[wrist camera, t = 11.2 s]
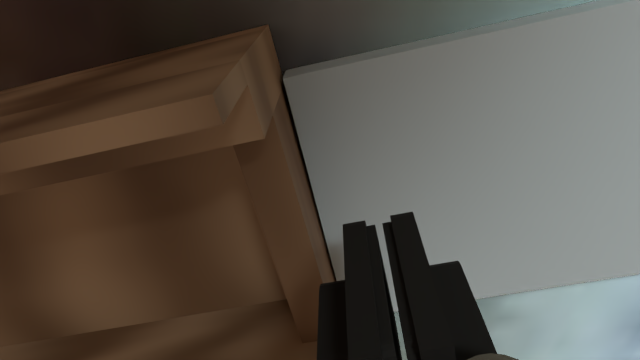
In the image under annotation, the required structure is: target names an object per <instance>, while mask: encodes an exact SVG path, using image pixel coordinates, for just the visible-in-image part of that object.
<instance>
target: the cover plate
mask: <svg viewBox="0 0 640 360" xmlns="http://www.w3.org/2000/svg"><path fill="white" fill-rule="evenodd" d="M283 81H284V85H285V89H286V92H287V96H288V100H289V104H290V107H291V111H292V115H293V119H294V122H295V126H296V130H297V134H298V137H299V141H300V145H301V149H302V153H303V156H304V160H305V164H306V168H307V171H308V175H309V179H310V183H311V186H312V190H313V194H314V198H315V201H316V205H317V209H318V213H319V216H320V220H321V224H322V228H323V231H324V235H325V239H326V243H327V246H328V250H329V254H330V258H331V262H332V265H333V269H334V273H335V277H336V280H337V281H341V280H345V272H344V248H343V224H347V223H353V222H358V221H364V220H365V222H366V225H367V226H370V225H375V227H376V231H377V236H378V240H379V245H380V250H381V255H382V259H383V264H384V269H385V273H386V278H387V283H388V287H389V292H390V297H391V301H392V306H393V311H394V312H396V311H398V306H397V301H396V295H395V290H394V284H393V279H392V274H391V268H390V263H389V257H388V252H387V247H386V241H385V236H384V230H383V225H382V223H386V222H391V219H390V216H391V215H396V214H401V213H407V212H413V214H414V217H415V220H416V223H417V227H418V230H419V233H420V236H421V240H422V243H423V246H424V249H425V253H426V256H427V259H428V262H429V265H435V264H441V263H446V262H452V261H459V262H460V264H461V266H462V269H463V271H464V274H465V276H466V279H467V281H468V283H469V286H470V288H471V291H472V293H473V296H474V298H475V299H481V298H487V297H494V296H500V295H507V294H513V293H520V292H526V291H533V290H539V289H546V288H552V287H559V286H565V285H572V284H578V283H585V282H592V281H598V280H605V279H611V278H618V277H624V276H631V275H637V274H640V0H597V1H593V2H588V3H584V4H579V5H575V6H571V7H566V8H562V9H557V10H553V11H548V12H544V13H539V14H535V15H530V16H526V17H521V18H517V19H512V20H508V21H503V22H499V23H494V24H490V25H486V26H481V27H477V28H472V29H468V30H463V31H459V32H454V33H450V34H445V35H441V36H436V37H432V38H427V39H423V40H418V41H414V42H409V43H405V44H401V45H396V46H392V47H387V48H383V49H378V50H374V51H369V52H365V53H360V54H356V55H351V56H347V57H342V58H338V59H333V60H329V61H324V62H320V63H316V64H311V65H307V66H302V67H298V68H293V69H289V70H286V71H285V74H284V77H283Z"/></svg>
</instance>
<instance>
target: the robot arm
mask: <svg viewBox="0 0 640 360" xmlns="http://www.w3.org/2000/svg"><path fill="white" fill-rule="evenodd" d="M390 219H391V222H386V223H382V225H383V230H384V236H385V241H386V247H387V252H388V257H389V263H390V268H391V274H392V279H393V284H394V290H395V295H396V301H397V306H398V312H399V317H400V322H401V328H402V333H403V339H404V344H405V349H406V354H407V359H408V360H518V359H515V358H512V357H510V356H507V355H502V354H497V352H496V350H495V347H494V345H493V342H492V340H491V337H490V335H489V332H488V330H487V328H486V325H485V323H484V320H483V318H482V315H481V313H480V310H479V308H478V305H477V303H476V301H475V298H474V296H473V293H472V291H471V288H470V286H469V283H468V281H467V279H466V276H465V274H464V271H463V269H462V266H461V264H460V262H459V261H452V262H446V263H441V264H435V265H429V262H428V259H427V256H426V253H425V249H424V246H423V243H422V240H421V236H420V233H419V230H418V227H417V223H416V220H415V217H414V214H413V212H407V213H401V214H396V215H391V216H390ZM343 248H344V272H345V280H341V281H335V282H329V283H323V284H320V286H319V306H318V335H317V360H402V356H401V350H400V345H399V339H398V333H397V327H396V321H395V316H394V311H393V306H392V301H391V297H390V292H389V287H388V283H387V278H386V273H385V269H384V264H383V259H382V255H381V250H380V245H379V240H378V236H377V231H376V227H375V225H370V226H367V225H366V222H365V220H364V221H358V222H353V223H347V224H343Z"/></svg>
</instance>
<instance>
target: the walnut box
mask: <svg viewBox="0 0 640 360" xmlns="http://www.w3.org/2000/svg"><path fill="white" fill-rule="evenodd" d="M335 281H337V280H336V277H335V273H334V269H333V265H332V262H331V258H330V254H329V250H328V246H327V243H326V239H325V235H324V231H323V228H322V224H321V220H320V216H319V213H318V209H317V205H316V201H315V198H314V194H313V190H312V186H311V183H310V179H309V175H308V171H307V168H306V164H305V160H304V156H303V153H302V149H301V145H300V141H299V137H298V134H297V130H296V126H295V122H294V119H293V115H292V111H291V107H290V104H289V100H288V96H287V92H286V89H285V85H284V81H283V76H282V72H281V68H280V65H279V61H278V58H277V54H276V50H275V47H274V43H273V39H272V36H271V32H270V29H269V25H264V26H260V27H256V28H252V29H248V30H244V31H240V32H236V33H232V34H228V35H224V36H220V37H216V38H212V39H208V40H204V41H200V42H195V43H191V44H187V45H183V46H179V47H175V48H171V49H167V50H163V51H159V52H155V53H151V54H147V55H143V56H139V57H135V58H131V59H127V60H123V61H119V62H115V63H111V64H107V65H103V66H99V67H95V68H91V69H87V70H82V71H78V72H74V73H70V74H66V75H62V76H58V77H54V78H50V79H46V80H42V81H38V82H34V83H30V84H26V85H22V86H18V87H14V88H10V89H6V90H2V91H0V360H317V335H318V306H319V286H320V284H323V283H329V282H335Z"/></svg>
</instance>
